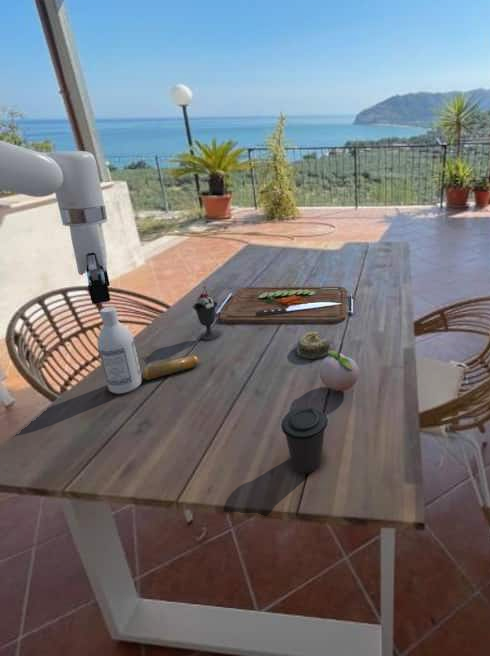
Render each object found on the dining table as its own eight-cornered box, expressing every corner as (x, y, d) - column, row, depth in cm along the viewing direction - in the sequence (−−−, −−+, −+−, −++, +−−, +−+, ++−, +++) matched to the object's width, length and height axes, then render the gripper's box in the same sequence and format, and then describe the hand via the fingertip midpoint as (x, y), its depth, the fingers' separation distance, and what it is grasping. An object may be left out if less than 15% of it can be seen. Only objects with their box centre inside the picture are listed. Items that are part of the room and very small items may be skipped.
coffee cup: (327, 442, 76) (325, 400, 72) (330, 476, 68) (329, 431, 65) (284, 447, 74) (281, 404, 71) (283, 482, 67) (279, 436, 63)
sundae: (216, 328, 118) (210, 282, 113) (224, 336, 114) (218, 289, 108) (194, 335, 114) (186, 288, 109) (202, 344, 110) (194, 295, 104)
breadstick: (143, 384, 92) (140, 373, 91) (142, 377, 95) (139, 367, 94) (200, 367, 99) (199, 357, 98) (198, 361, 101) (196, 351, 100)
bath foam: (127, 374, 96) (109, 300, 89) (149, 379, 94) (133, 304, 87) (101, 391, 90) (80, 313, 83) (125, 397, 88) (105, 318, 81)
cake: (312, 365, 101) (310, 348, 99) (289, 351, 107) (286, 335, 105) (340, 348, 107) (338, 332, 105) (316, 336, 114) (314, 320, 112)
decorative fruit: (311, 390, 91) (310, 353, 87) (336, 374, 96) (335, 339, 93) (340, 408, 85) (340, 369, 81) (365, 390, 91) (365, 353, 87)
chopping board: (353, 289, 147) (353, 282, 146) (353, 322, 122) (353, 314, 121) (234, 290, 147) (233, 282, 145) (209, 323, 121) (208, 314, 120)
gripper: (64, 209, 83) (82, 284, 88) (57, 225, 69) (78, 313, 75) (106, 207, 87) (120, 279, 92) (106, 221, 73) (123, 305, 78)
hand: (101, 294), depth 83 cm, fingers open, 9 cm apart
